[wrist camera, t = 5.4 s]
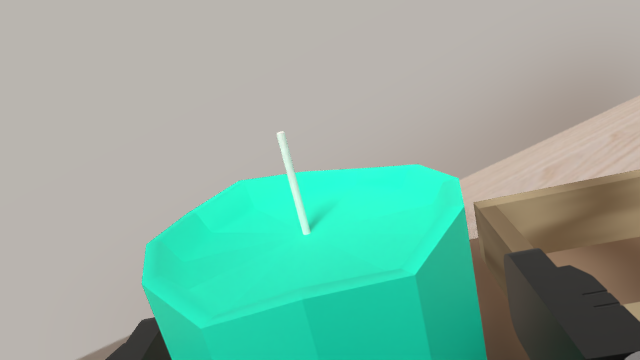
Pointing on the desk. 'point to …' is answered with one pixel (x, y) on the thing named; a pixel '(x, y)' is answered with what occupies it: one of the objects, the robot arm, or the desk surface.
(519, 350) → the candle holder
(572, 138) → the desk surface
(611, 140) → the desk surface
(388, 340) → the candle
